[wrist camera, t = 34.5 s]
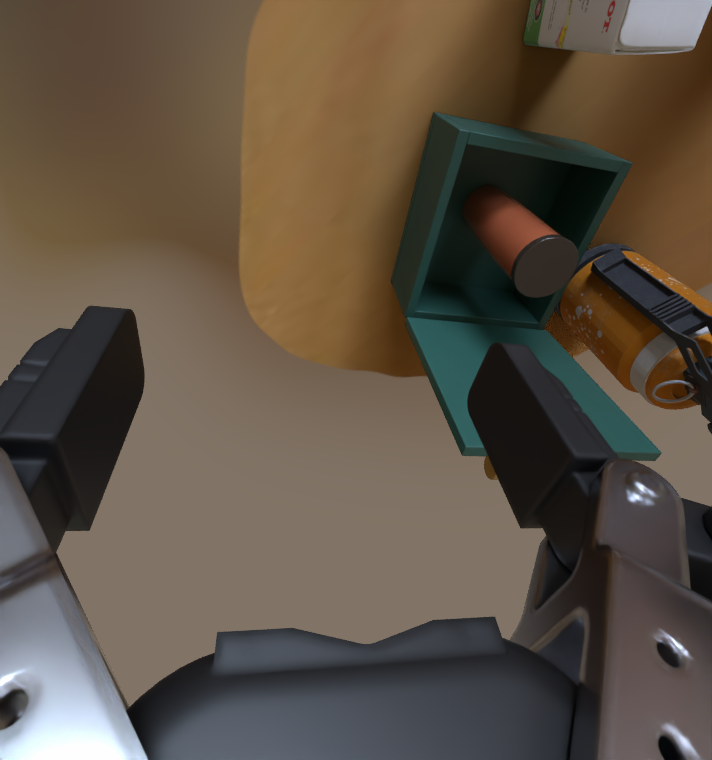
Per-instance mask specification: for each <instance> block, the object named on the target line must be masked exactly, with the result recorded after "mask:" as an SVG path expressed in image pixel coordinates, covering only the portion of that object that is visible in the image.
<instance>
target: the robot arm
mask: <svg viewBox="0 0 712 760" xmlns="http://www.w3.org/2000/svg"><path fill="white" fill-rule="evenodd" d="M143 387H144V366H143V359H142V353H141V347H140V341H139V335H138V329H137V324H136V318H135V314H134V312H133V311H132V310H131V309H122V308H110V307H100V306H89V307H87V308H86V309H85V311H84V312H83V314H82V315H81V317H80V318H79V319H78V321H77V322H76V324H75V325H74V327H73V328H72V329H63V328H58V329H56V330H55V331H53V332H51V333H50V334H48V335H46V336H45V337H43V338H41V339H40V340H38V341H36V342H35V343H34V344H33V345H32V347H31V348H30V349H29V350H28V352H27V353H26V354H25V355H24V357H23V358H22V359H21V360H20V365H17V366H16V367H15V368H14V369H13V371H12V372H11V373H10V374H9V376H8V380H5V381H4V382H3V383H2V385H1V386H0V760H712V507H710V506H707V505H704V504H700V503H697V502H693V501H690V500H686V499H683V498H680V497H679V495H678V493H677V491H676V490H675V489H674V488H673V486H671V484H670V483H668V481H667V480H665V479H664V478H663V477H662V476H661V475H659V474H658V473H657V472H655V471H653V470H652V469H650V468H649V467H647V466H645V465H643V464H640V463H638V462H635V461H632V460H628V459H619V457H618V456H617V455H616V453H615V452H614V451H613V449H612V448H611V447H610V445H609V444H608V443H607V441H606V440H605V439H604V437H603V436H602V435H601V433H600V432H599V431H598V429H597V428H596V427H595V425H594V424H593V423H592V421H591V420H590V419H589V417H588V416H587V415H586V413H583V412H582V410H583V409H582V408H581V407H580V405H579V404H578V403H577V401H576V400H573V396H572V394H571V393H570V392H569V390H568V389H567V388H566V386H565V385H564V384H563V382H562V381H561V380H560V379H558V378H557V377H556V376H555V375H553V374H552V373H551V372H550V371H548V370H547V369H546V368H545V367H543V366H542V364H541V363H540V362H539V360H538V359H537V358H536V356H535V355H534V353H533V352H532V351H531V349H530V348H529V347H528V346H526V345H521V344H510V343H498V342H496V343H493V344H492V345H491V346H490V347H489V349H488V351H487V353H486V355H485V357H484V359H483V361H482V364H481V366H480V368H479V370H478V372H477V375H476V377H475V379H474V381H473V383H472V386H471V388H470V390H469V393H468V399H467V407H468V412H469V415H470V418H471V420H472V422H473V424H474V427H475V429H476V431H477V433H478V435H479V438H480V440H481V442H482V444H483V446H484V449H485V451H486V453H487V455H488V457H489V460H490V462H491V464H492V466H493V468H494V471H495V473H496V475H497V477H498V480H499V482H500V484H501V486H502V488H503V490H504V493H505V495H506V497H507V499H508V502H509V504H510V506H511V508H512V510H513V513H514V515H515V517H516V519H517V521H518V524H519V526H520V528H543V529H544V531H545V533H546V537H545V538H544V539H543V540H542V542H541V543H540V546H539V549H538V553H537V558H536V561H535V566H534V570H533V574H532V578H531V582H530V586H529V590H528V594H527V598H526V602H525V606H524V610H523V614H522V617H521V620H520V622H519V624H518V627H517V628H516V630H515V632H514V633H513V635H512V637H511V639H510V641H509V640H507V639H504V638H502V637H501V633H500V630H499V628H498V625H497V622H496V619H495V617H480V618H463V619H445V620H432V621H430V622H427V623H425V624H422V625H420V626H417V627H414V628H412V629H409V630H407V631H404V632H402V633H399V634H397V635H394V636H391V637H389V638H386V639H384V640H381V641H378V642H376V643H373V644H360V643H355V642H351V641H347V640H342V639H338V638H334V637H329V636H325V635H320V634H316V633H312V632H308V631H303V630H298V629H295V628H285V629H267V630H250V631H232V632H218V633H217V639H216V647H215V653H213V654H210V655H207V656H205V657H202V658H199V659H197V660H195V661H193V662H191V663H189V664H187V665H185V666H183V667H181V668H179V669H178V670H176V671H175V672H173V673H171V674H170V675H168V676H167V677H165V678H164V679H162V680H161V681H159V682H158V683H157V684H155V685H154V686H153V687H152V688H151V689H149V690H148V691H147V692H146V693H145V694H143V695H142V696H141V697H140V698H139V699H138V700H136V701H135V702H134V704H133V705H131V706H130V707H129V705H128V703H127V701H126V699H125V697H124V694H123V692H122V690H121V688H120V686H119V684H118V682H117V680H116V678H115V675H114V673H113V671H112V669H111V667H110V665H109V663H108V661H107V659H106V657H105V655H104V653H103V651H102V649H101V647H100V644H99V642H98V641H97V638H96V636H95V634H94V632H93V630H92V627H91V625H90V623H89V621H88V619H87V617H86V615H85V613H84V611H83V608H82V606H81V604H80V602H79V600H78V598H77V596H76V593H75V591H74V589H73V587H72V585H71V583H70V581H69V579H68V576H67V574H66V572H65V570H64V568H63V566H62V564H61V562H60V560H59V558H58V555H57V554H56V551H57V549H58V547H59V545H60V542H61V540H62V537H63V535H64V533H65V531H89V530H90V528H91V525H92V523H93V520H94V518H95V515H96V513H97V510H98V508H99V505H100V502H101V500H102V497H103V495H104V492H105V489H106V487H107V484H108V482H109V479H110V477H111V474H112V471H113V469H114V466H115V464H116V461H117V459H118V456H119V454H120V451H121V449H122V446H123V443H124V441H125V438H126V436H127V433H128V431H129V428H130V425H131V423H132V420H133V418H134V415H135V413H136V410H137V408H138V405H139V402H140V400H141V397H142V394H143V389H144V388H143Z"/></svg>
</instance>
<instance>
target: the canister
mask: <svg viewBox="0 0 712 760" xmlns="http://www.w3.org/2000/svg"><path fill="white" fill-rule="evenodd" d="M555 311H556V312H557V314H558V315H559V316H560V317H561V318H562V319H563V320H564V321H565V322H566V324H567V325H568V326H569V327H570V328H571V329H572V330H573V331H574V332H575V333H576V335H577V336H578V337H579V338H580V339H581V340H582V341H583V342H584V343H585V345H586V346H587V347H588V348H589V349H590V350H591V351H592V352H593V353H594V354H595V356H596V357H597V358H598V359H599V360H600V361H601V362H602V363H603V364H604V365H605V367H606V368H607V369H608V370H609V371H610V372H611V373H612V374H613V375H614V376H615V378H616V379H617V380H618V381H619V382H620V383H621V384H622V385H623V386H624V387H625V388H627V389H628V390H631V391H633V392H638V393H640V394H641V395H642V397H643V398H645V400H646V401H648V402H649V403H650V404H652V405H655V406H659V407H661V408H664V409H675V410H676V409H684V408H689V407H692V406H696V405H701V410H702V415H703V416H704V417H705V418H706V419H707V420H709V421H710V422H711V423H709V424H708V429H709V431H710V432H711V433H712V303H711V302H709V301H708V300H706V299H705V298H703V297H702V296H700V295H699V294H697V293H696V292H695V291H693V290H692V289H690V288H689V287H687V286H686V285H684V284H683V283H681V282H680V281H678V280H677V279H675V278H674V277H672V276H671V275H669V274H668V273H666V272H665V271H663V270H662V269H660V268H659V267H657V266H656V265H654V264H653V263H652V262H650V261H649V260H647V259H646V258H644V257H643V256H641V255H639V254H638V253H637V252H635V251H634V250H632V249H631V248H629V247H627V246H625V245H622V244H605V245H600V246H598V247H595V248H592V249H590V250H588V251H586V252H585V254H584V255H583V257H582V259H581V261H580V263H579V265H578V267H577V269H576V270H575V273H574V274H573V276H572V278H571V280H570V282H569V283H568V285H567V287H566V289H565V291H564V293H563V295H562V296H561V298H560V300H559V302H558V304H557V306H556V308H555Z"/></svg>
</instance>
